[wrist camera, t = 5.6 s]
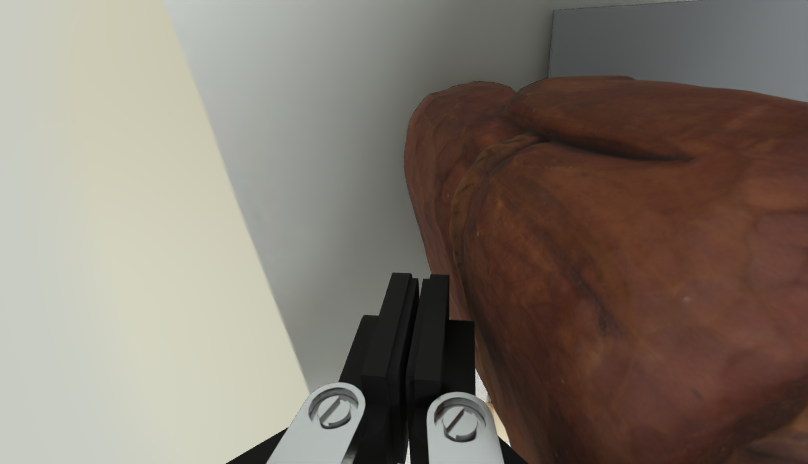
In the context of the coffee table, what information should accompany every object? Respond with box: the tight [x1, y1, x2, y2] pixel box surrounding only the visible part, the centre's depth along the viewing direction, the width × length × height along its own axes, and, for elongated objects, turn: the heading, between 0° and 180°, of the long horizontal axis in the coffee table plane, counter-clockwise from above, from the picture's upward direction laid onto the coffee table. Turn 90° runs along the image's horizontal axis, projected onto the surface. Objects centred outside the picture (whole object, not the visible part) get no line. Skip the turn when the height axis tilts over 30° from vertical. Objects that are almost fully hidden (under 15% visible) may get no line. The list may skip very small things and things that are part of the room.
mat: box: [548, 0, 808, 102], centre depth 18 cm, size 16×19×1 cm
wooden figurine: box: [404, 75, 808, 464], centre depth 12 cm, size 12×6×18 cm, turn 13°
